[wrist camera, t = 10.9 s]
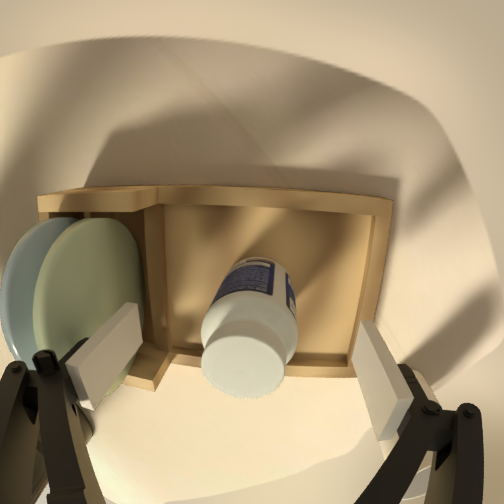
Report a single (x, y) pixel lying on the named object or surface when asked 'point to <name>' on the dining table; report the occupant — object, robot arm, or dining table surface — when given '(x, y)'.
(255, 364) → the pill bottle
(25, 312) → the plate blue
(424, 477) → the mug
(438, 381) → the dining table surface
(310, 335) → the dish rack
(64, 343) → the plate sage
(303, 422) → the dining table surface
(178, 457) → the dining table surface
